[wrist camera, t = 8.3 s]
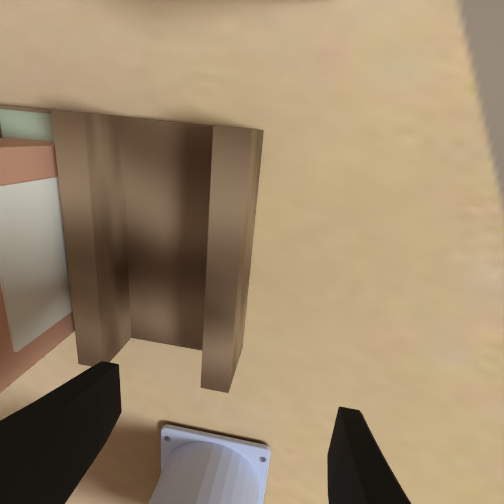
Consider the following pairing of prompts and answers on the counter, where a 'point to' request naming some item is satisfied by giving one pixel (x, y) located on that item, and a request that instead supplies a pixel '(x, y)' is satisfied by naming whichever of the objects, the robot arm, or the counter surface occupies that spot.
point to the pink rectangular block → (31, 257)
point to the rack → (153, 230)
